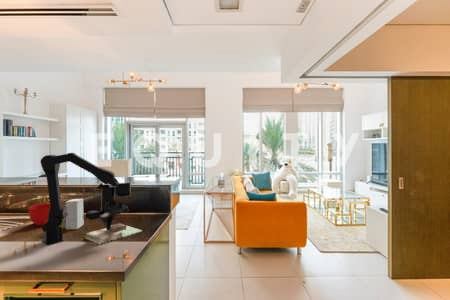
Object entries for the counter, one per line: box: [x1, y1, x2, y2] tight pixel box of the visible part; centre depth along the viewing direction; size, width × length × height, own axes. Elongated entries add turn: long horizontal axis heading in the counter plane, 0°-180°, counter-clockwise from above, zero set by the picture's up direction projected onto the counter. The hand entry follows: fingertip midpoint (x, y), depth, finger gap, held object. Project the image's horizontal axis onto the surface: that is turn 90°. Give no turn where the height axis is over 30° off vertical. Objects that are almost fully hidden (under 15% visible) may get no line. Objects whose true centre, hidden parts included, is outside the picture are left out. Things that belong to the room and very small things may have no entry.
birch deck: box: [85, 227, 123, 245], centre depth 122 cm, size 11×12×2 cm
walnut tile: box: [108, 223, 127, 233], centre depth 127 cm, size 7×6×2 cm
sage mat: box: [119, 225, 143, 238], centre depth 132 cm, size 11×13×1 cm
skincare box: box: [65, 198, 85, 230], centre depth 138 cm, size 8×6×15 cm
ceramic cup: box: [28, 203, 50, 227], centre depth 145 cm, size 13×17×10 cm
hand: (107, 229), depth 124 cm, fingers closed
